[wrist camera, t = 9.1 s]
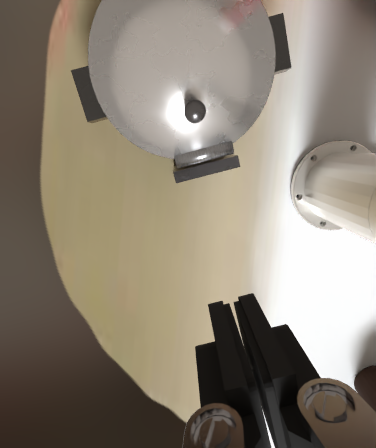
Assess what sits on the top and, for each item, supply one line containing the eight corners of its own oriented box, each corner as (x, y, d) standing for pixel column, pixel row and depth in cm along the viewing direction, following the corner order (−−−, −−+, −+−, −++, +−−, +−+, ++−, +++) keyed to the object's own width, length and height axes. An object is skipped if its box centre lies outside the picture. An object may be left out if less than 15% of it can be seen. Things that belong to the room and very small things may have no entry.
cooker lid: (245, -107, 26) (254, -138, 23) (285, 139, 32) (296, 139, 29) (53, -52, 27) (37, -77, 24) (124, 181, 32) (119, 185, 29)
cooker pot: (249, -5, 37) (277, -61, 27) (276, 148, 42) (307, 149, 32) (81, 41, 38) (46, 3, 27) (125, 187, 42) (110, 200, 32)
